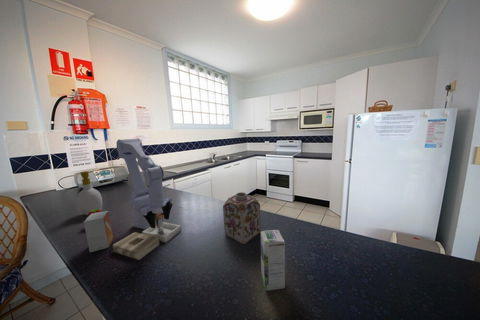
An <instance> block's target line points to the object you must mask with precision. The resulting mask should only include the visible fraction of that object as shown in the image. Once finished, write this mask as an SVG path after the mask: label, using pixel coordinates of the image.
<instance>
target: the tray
mask: <svg viewBox="0 0 480 320" xmlns="http://www.w3.org/2000/svg"><path fill="white" fill-rule="evenodd" d="M155 225H156V224H155ZM163 226H164V234H163V235H159V234H157V231H156V227H155V228H151V227H148V228H147V229H143V231H141V234H144V235H148V236H153V237H157V238H158V239H159V242H161V243H167V242H169V241H170V240H172V239H173V238H174V237H175V236H177V235H178V234H179V233H180V232H182V225H179V224H176V223H170V222H165V221H163Z"/></svg>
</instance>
